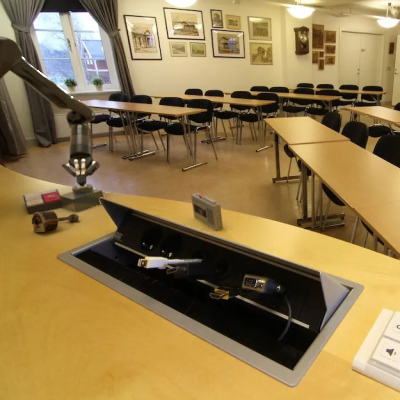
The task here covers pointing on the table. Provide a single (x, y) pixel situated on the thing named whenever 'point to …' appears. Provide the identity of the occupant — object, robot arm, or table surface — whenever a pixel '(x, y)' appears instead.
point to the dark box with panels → (42, 201)
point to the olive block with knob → (81, 198)
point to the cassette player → (207, 211)
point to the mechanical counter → (49, 220)
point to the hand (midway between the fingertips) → (81, 184)
